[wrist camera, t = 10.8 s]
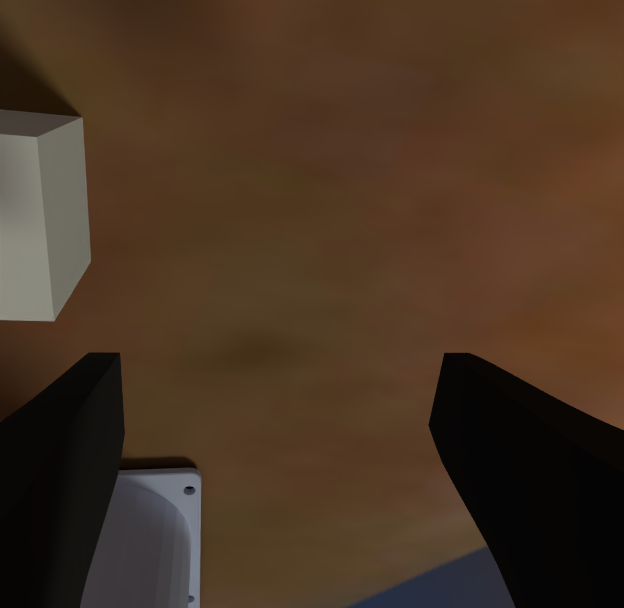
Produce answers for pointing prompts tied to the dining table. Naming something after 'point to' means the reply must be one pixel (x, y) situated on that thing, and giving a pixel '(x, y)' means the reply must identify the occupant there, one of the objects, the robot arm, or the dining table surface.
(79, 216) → the marked cube
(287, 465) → the dining table surface
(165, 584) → the robot arm
